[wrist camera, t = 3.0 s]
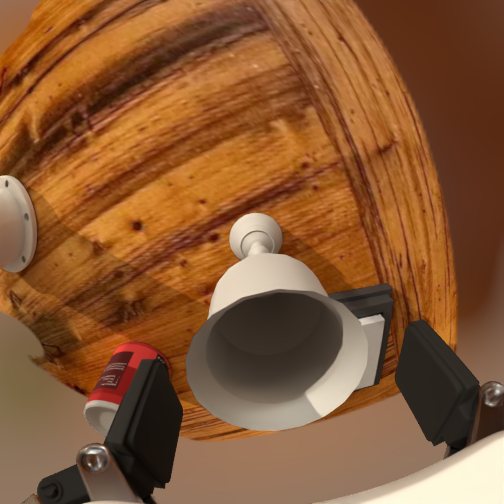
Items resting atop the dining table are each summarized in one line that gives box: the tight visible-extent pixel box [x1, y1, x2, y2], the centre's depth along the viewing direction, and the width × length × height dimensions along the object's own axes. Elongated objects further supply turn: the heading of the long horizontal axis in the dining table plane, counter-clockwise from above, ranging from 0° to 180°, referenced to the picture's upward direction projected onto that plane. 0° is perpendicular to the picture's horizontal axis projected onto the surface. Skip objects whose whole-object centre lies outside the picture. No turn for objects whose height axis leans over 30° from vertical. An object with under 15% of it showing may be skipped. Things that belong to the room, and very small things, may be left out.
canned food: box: [84, 342, 172, 437], centre depth 26 cm, size 8×8×11 cm
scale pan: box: [355, 313, 385, 390], centre depth 28 cm, size 10×10×2 cm
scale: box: [327, 283, 393, 391], centre depth 29 cm, size 14×14×3 cm
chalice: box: [185, 213, 368, 431], centre depth 18 cm, size 7×7×18 cm
